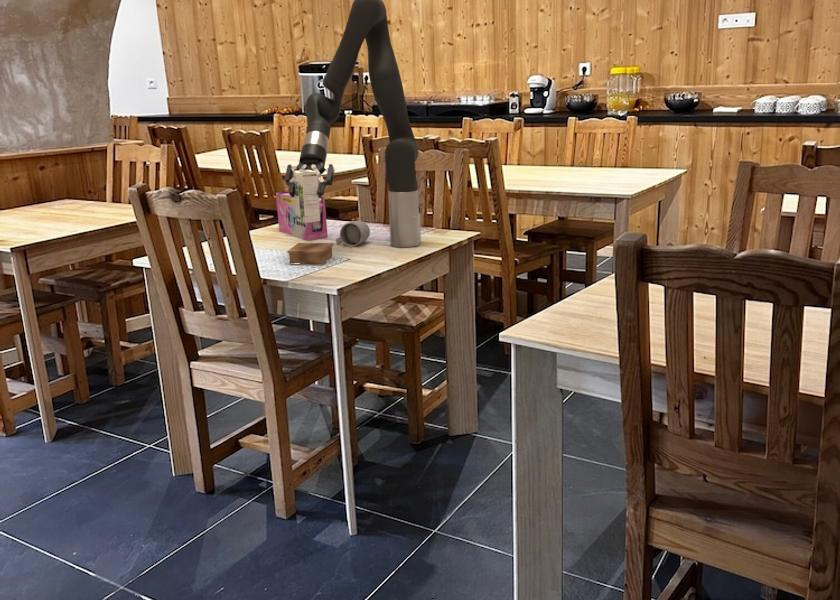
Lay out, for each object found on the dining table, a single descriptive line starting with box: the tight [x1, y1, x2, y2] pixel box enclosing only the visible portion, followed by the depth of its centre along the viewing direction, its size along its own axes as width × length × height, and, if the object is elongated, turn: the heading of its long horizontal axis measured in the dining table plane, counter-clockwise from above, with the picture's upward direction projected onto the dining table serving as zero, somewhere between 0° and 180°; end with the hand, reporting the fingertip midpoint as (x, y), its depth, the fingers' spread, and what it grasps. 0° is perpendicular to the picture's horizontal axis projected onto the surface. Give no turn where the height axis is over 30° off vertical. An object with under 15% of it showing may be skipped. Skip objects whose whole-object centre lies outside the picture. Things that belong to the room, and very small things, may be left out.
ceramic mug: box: [335, 220, 371, 248], centre depth 250 cm, size 11×8×8 cm
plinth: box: [286, 242, 334, 265], centre depth 230 cm, size 11×11×4 cm
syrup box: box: [293, 170, 320, 223], centre depth 226 cm, size 6×6×14 cm
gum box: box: [275, 190, 328, 241], centre depth 266 cm, size 24×8×14 cm, turn 35°
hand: (305, 195), depth 224 cm, fingers closed on syrup box, 7 cm apart
